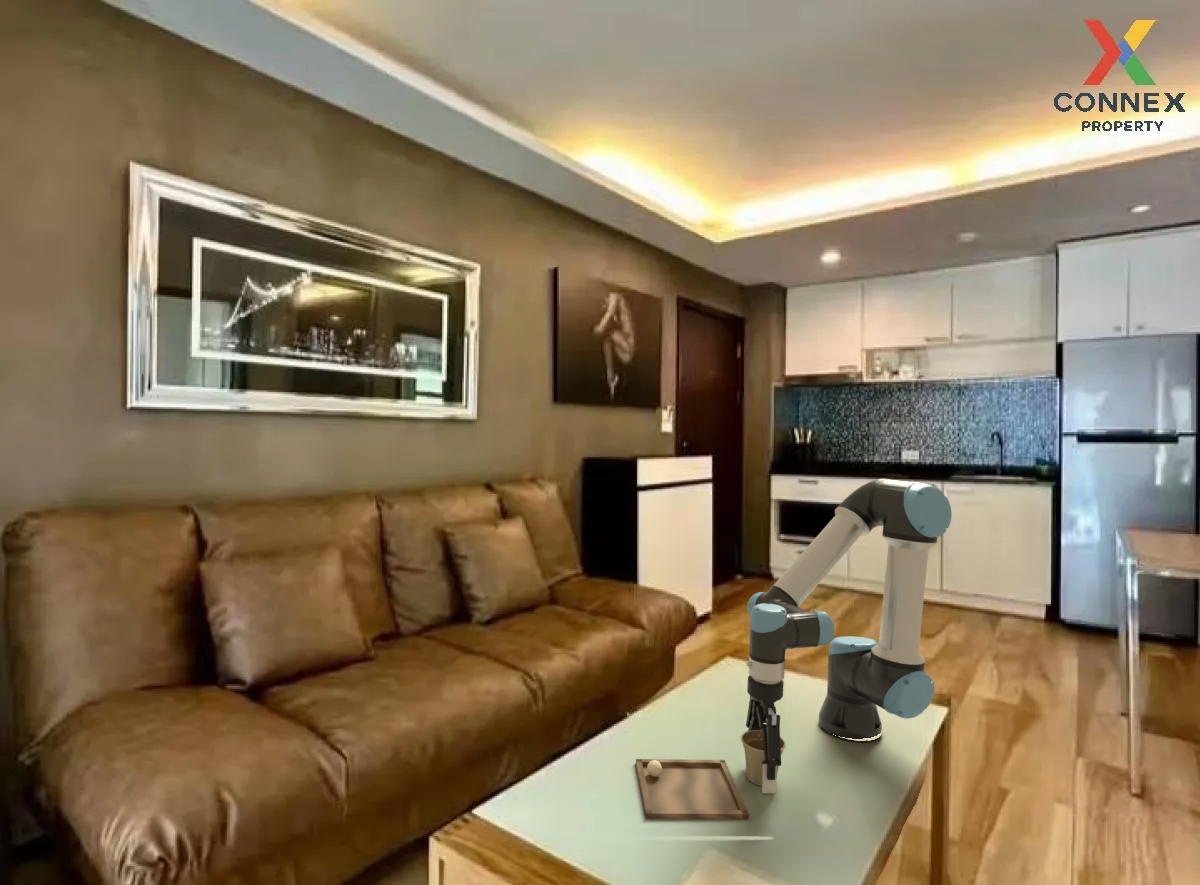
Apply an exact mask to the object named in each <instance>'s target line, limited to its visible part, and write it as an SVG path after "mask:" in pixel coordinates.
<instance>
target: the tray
mask: <svg viewBox="0 0 1200 885" xmlns="http://www.w3.org/2000/svg"><path fill="white" fill-rule="evenodd" d="M653 760H656V761H658V762H659V763H660V764H661V766H662V772H661V774H660V775H659V776H657V777H652V776H651V775H649V773H648V771H647V766H648V763H649V762H650V761H653ZM635 767H636V773H637V778H638V783H639V788H640V794H641V801H642V804H643V810H644V814H645V815H644V816H645V819H646V820H647V819H649V820H652V819H653V820H657V819H658V820H659V819H660V820H749V818H750V814H749V811H748V809H747V807H746V805H745V802H744V800H743V797H742V795H741V793H740V791H739V789H738V787H737V785H736V783H735V781H734V778H733V776H732V774H731V773H732V772H731V771H730V769H729V766H728V765H727V762H726V760H725V759H685V758H684V759H677V758H676V759H675V758H674V759H672V758H671V759H669V758H668V759H667V758H663V759H662V758H659V759H657V758H654V759H653V758H648V759H647V758H636V759H635Z"/></svg>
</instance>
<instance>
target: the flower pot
mask: <svg viewBox="0 0 1200 885" xmlns="http://www.w3.org/2000/svg"><path fill="white" fill-rule="evenodd" d="M740 741H741V742H742V746H743V747H742V748H743V749H744V758H745V769H746V777H747V778H748V780H749V782H751V783H753V784H754V785H757V786H761V787H762V774H763V764H762V761H765V756H764V746H763V736H762V730H751V731H748V730H746V731H745V732H743V733H742V734H741V737H740ZM786 744H787V743H786V740H785V739H784V738H783V737H782V736H780V747H781V755H783V752H784V750H785V748H786V746H787V745H786ZM779 768H780V766H777V773H776V780H777V779H778V778H777V777H778V771H779Z"/></svg>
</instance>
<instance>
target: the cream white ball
mask: <svg viewBox="0 0 1200 885" xmlns="http://www.w3.org/2000/svg"><path fill="white" fill-rule="evenodd" d="M647 771H648V773H649V775H651V776H652V777H657V776H659V775H660V774H661V772H662V766H661V764H660V763H659V762H658V761H656V760H653V761H650V762H649V763H648V766H647Z"/></svg>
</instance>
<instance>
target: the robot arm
mask: <svg viewBox="0 0 1200 885" xmlns="http://www.w3.org/2000/svg"><path fill="white" fill-rule="evenodd" d="M834 514H835V516H833V517H832V519H831V520H829V522H828V523H827V524H826V526H824V528H823V529H822V530H821V531H820V532H819V534H818V535H816V537H815V538H814V539H813V540H812V541H811V542H810V543H809V545H808V546H807V547H806V548H805V549H804V551H803V552H802V553H800V555H799V556H798V557H797V558H796V559H795V560H794V562H793V563H792V564H791V565H790V566H789V567H788V568H787V570H785V572H784V573H783V574H782V575H781V576H780V577H779V579H777V580H776V582H775V583H774V584H773V585H772V587H770V589H769V590H768V591H767V592H765V591H759V592H756V593H754V594H752V596H751V597H750V598H749V600H748V602H747V605H746V610H747V614H748V616H749V618H750V620H749V621H750V622H749V644H748V647H749V648H748V653H749V654H748V661H747V662H746V666H747V667H748V669H747V670H748V676H747V685H746V686H747V690H746V691H747V694H748V695H749V703H748V709H747V715H746V723H745V726H746V728H748V729H747V731H751V730H762V736H763V746H764V756H765V761H762V764H763V774H762V786H761V792H762V794H776V789H777V779H776V773H777V766H779V767H781V766H782V754H781V747H780V737H781V728H780V725H781V716H780V714H777V708H776V706H775V703H776V702H778V701H781V699H783V696H784V679H785V665H786V650H792V649H803V648H817V647H820V646H825V645H829V650H828V654H827V655H828V656H827V657H828V658H827V660H828V661H827V683H826V686H827V690H826V691H827V692H826V696H825V697H824V700H823V702H822V705H821V707H820V710H819V713H818V726H819V727H820V726H821V727H822V728H823V729H824V730H825V731H824V730H823V729H822V728H821V727H820V728H821V729H822V730H823V731H824V732H826V731H827V732H829V733H831V734H834V735H836V736H840V737H845V738H852V739H863V738H871V737H874V736H877V735H878V734H880V733H881V731H882V732H883V727H882V725H883V724H882V721H881V718H880V713H879V710H878V707H879V708H881V709H883V710H885V711H886V712H887V713H888V714H891V715H894V716H896V717H898V718H901V719H907V720H908V719H910V720H911V719H914V718H916V717H918V716H920V715H922V714H923V713H924V711H926V710H927V709H928V708H929V706H930V704H931V702H932V700H933V698H934V695H935V683H934V681H933V680H932V677H931V676H930V674H928V673H927V672H925V664H926V660H925V656H923V654H922V653H921V652H920V650H919V649H920V641H921V630H922V621H923V620H922V619H923V610H924V602H925V601H924V600H925V590H926V579H927V572H928V571H927V569H928V559H929V550H930V549H931V548H933V547H934V546H935V545H937V543H938V537H941V536H942V535H944V534H945V533H946V532H947V529H949V528H950V525H951V522H952V514H953V513H952V507H951V503H950V501H949V498H948V497H947V496H946V495H945V492H943V491H942V490H941V489H940V488H938V487H937V486H935V485H931V484H926V483H923V482H916V481H915V482H914V481H903V480H897V479H891V478H878V479H874V480H870V481H868V482H866V483H865V484H862V485H860V487H858V488H857V489H855V490H854V491H853V492H851V493H850V494H849V495H848V496H846V498H845V499H844V500H842V502H841V503H840V504H839V505H838V506H837V507H836V508H835V509H834ZM880 526H881V527H882V535H881V536H882V538H883V539H884V540H885V541H886V543H887V546H888V547H887V555H886V556H887V557H886V565H885V566H886V568H885V576H884V587H883V598H882V608H881V617H880V628H879V640H878V641H877V640H875V639H872V638H867V637H862V636H852V635H851V636H849V635H848V636H847V635H846V636H838V637H835V624H834V621H833V619H832V617H831V615H829V614H828V612H826V611H823V610H815V609H813V610H804V609H802V608H801V607H800V606H801V604H802V603H803V602H805V600H806V599H807V597H809V595H810V594H811V593H812V592H813V591H814V590H815V588H816V587H817V586H818V585H819V584H820V583H821V582H822V580H824V578H825V577H826V576H827V575H828V573H830V571H831V570H832V569H833V568H834V567H835V566H836V564H837V563H838V562H840V560H841V558H843V556H845V554H846V553H847V552H848V551H849V550H850V548H852V546H853V545H854V544H855V543H856V541H858V539H859V538H860V537H861V536H867V535H868V534H870V532H871V531H872V530H874V529H875V528H877V527H880ZM877 706H878V707H877ZM827 732H826V733H827ZM829 733H828V734H829ZM831 734H830V735H831ZM777 774H778V773H777Z"/></svg>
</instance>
